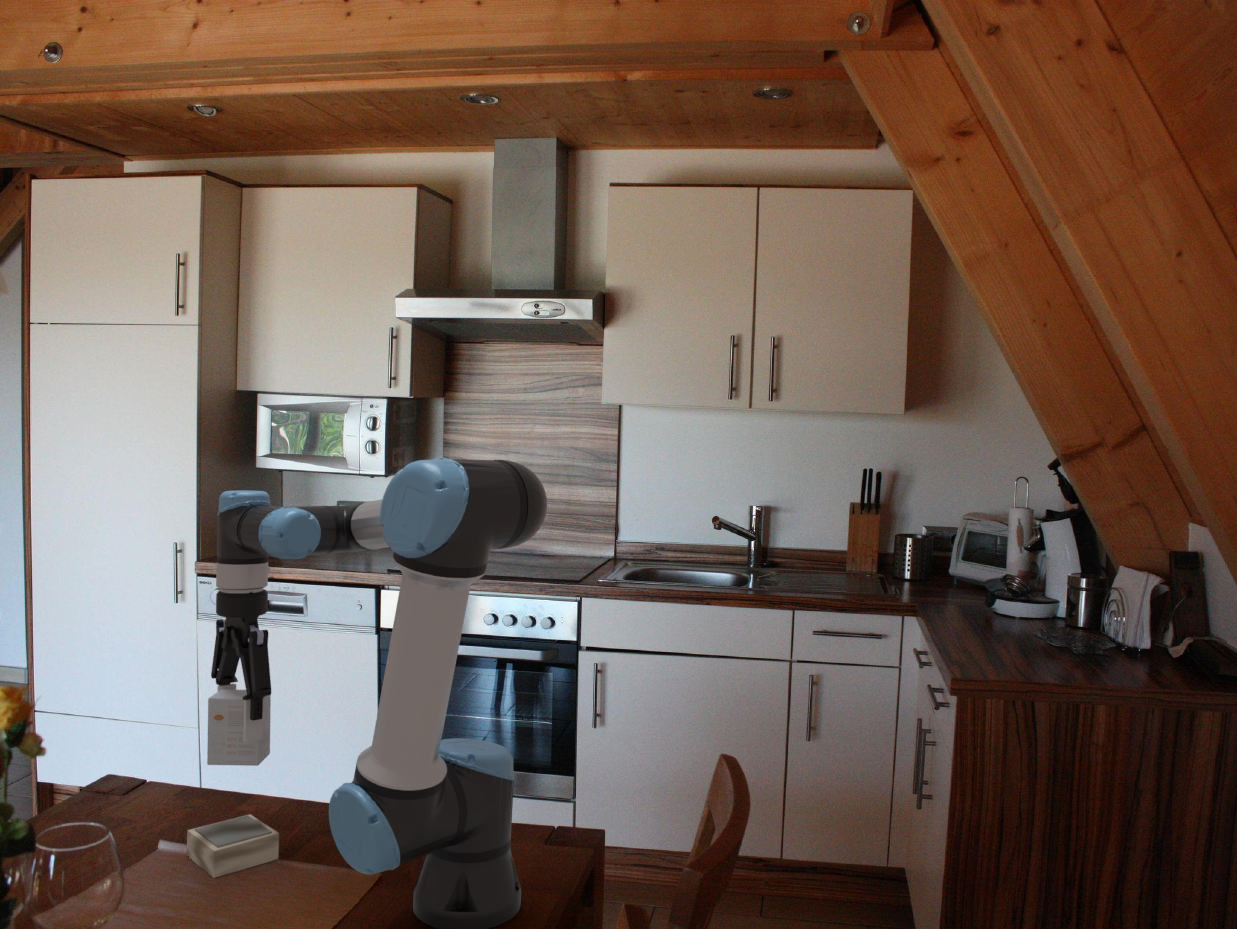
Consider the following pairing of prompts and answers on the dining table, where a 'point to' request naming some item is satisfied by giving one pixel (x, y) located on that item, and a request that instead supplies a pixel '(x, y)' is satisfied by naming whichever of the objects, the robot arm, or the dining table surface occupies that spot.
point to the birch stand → (232, 845)
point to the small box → (234, 731)
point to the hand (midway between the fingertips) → (239, 732)
